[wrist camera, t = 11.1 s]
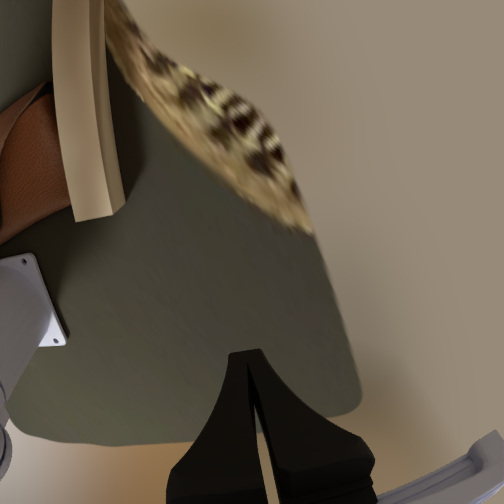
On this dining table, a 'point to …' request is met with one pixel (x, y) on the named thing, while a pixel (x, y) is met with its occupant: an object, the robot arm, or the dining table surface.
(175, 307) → the dining table surface
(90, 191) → the bar
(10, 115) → the sunglasses case
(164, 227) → the dining table surface
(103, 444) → the dining table surface
